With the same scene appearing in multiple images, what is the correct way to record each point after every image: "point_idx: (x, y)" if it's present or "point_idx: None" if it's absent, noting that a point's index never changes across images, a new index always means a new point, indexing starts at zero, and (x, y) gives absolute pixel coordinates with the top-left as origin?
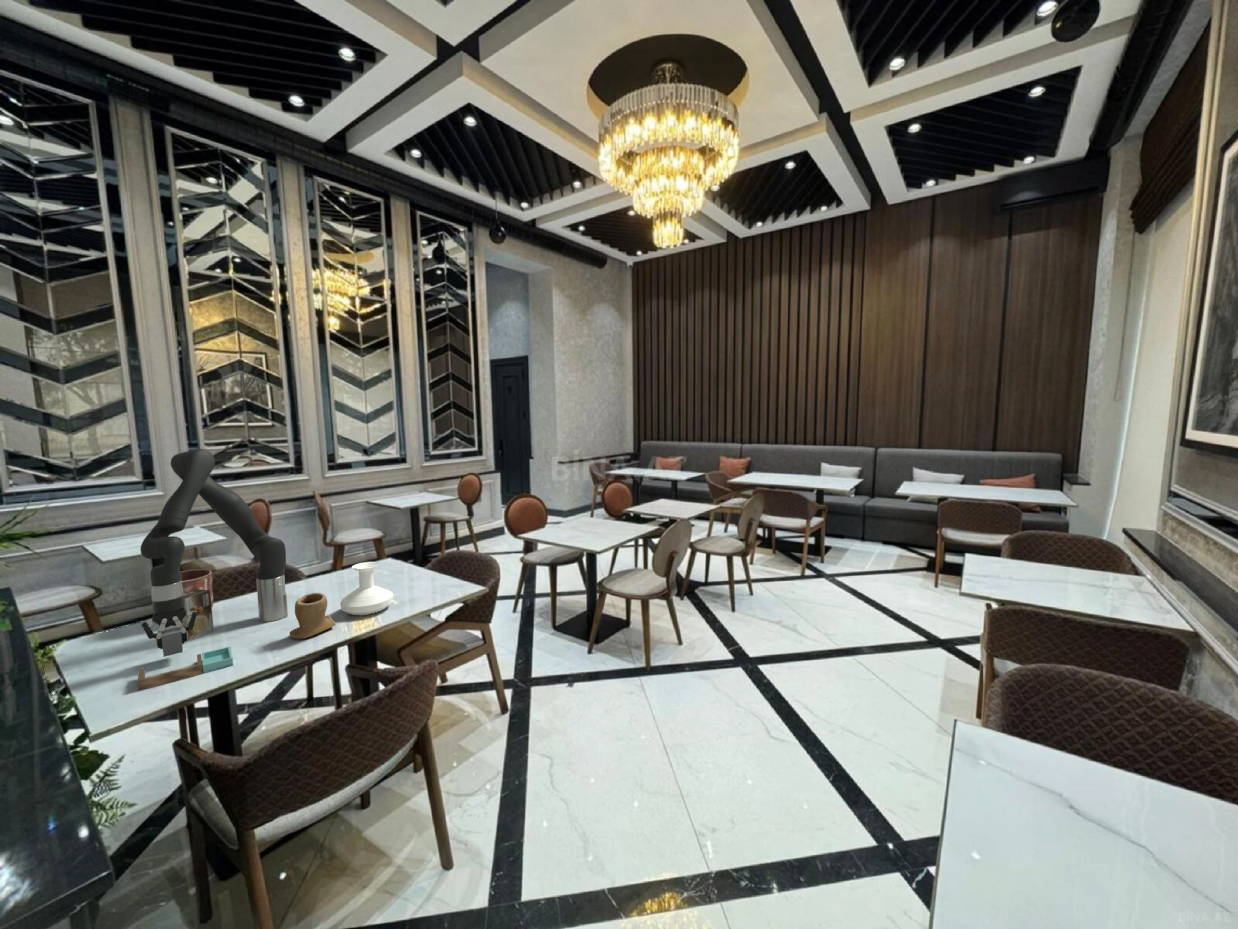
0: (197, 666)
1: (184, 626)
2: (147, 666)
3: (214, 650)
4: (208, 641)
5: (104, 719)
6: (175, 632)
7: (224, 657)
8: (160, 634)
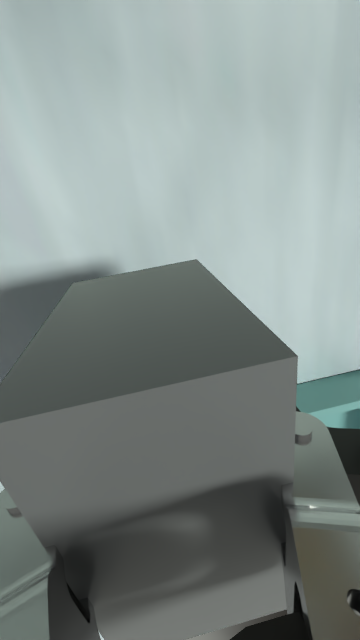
0: None
1: (340, 488)
2: (25, 340)
3: (343, 408)
4: (316, 48)
5: None
6: (242, 612)
7: (350, 421)
8: (72, 598)
